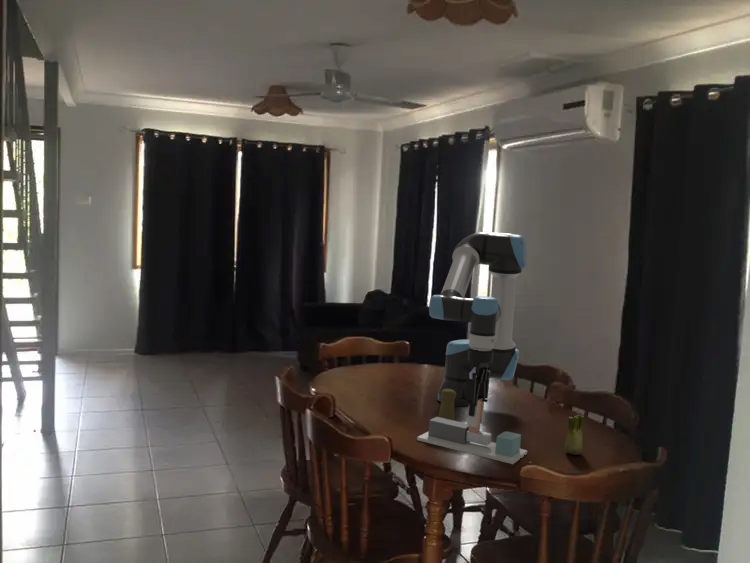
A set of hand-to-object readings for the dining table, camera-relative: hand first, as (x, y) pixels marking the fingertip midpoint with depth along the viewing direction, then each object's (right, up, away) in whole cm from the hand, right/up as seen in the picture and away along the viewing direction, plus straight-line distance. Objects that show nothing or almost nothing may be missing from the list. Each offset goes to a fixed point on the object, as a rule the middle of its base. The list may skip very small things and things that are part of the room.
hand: (474, 424), depth 217 cm
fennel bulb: (+30, -9, +1) cm, 31 cm away
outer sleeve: (-7, -6, +5) cm, 11 cm away
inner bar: (-3, -5, +2) cm, 6 cm away
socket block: (+9, -8, -5) cm, 13 cm away
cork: (-6, -4, +26) cm, 27 cm away
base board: (-1, -7, +1) cm, 7 cm away
